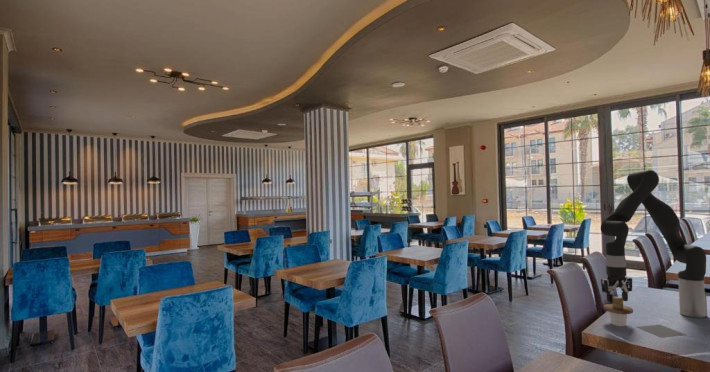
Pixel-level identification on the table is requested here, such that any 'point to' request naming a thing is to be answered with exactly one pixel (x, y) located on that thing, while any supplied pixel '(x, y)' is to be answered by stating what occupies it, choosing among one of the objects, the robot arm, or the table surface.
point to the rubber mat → (661, 331)
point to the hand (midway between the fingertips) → (617, 301)
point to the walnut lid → (618, 307)
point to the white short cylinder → (618, 319)
